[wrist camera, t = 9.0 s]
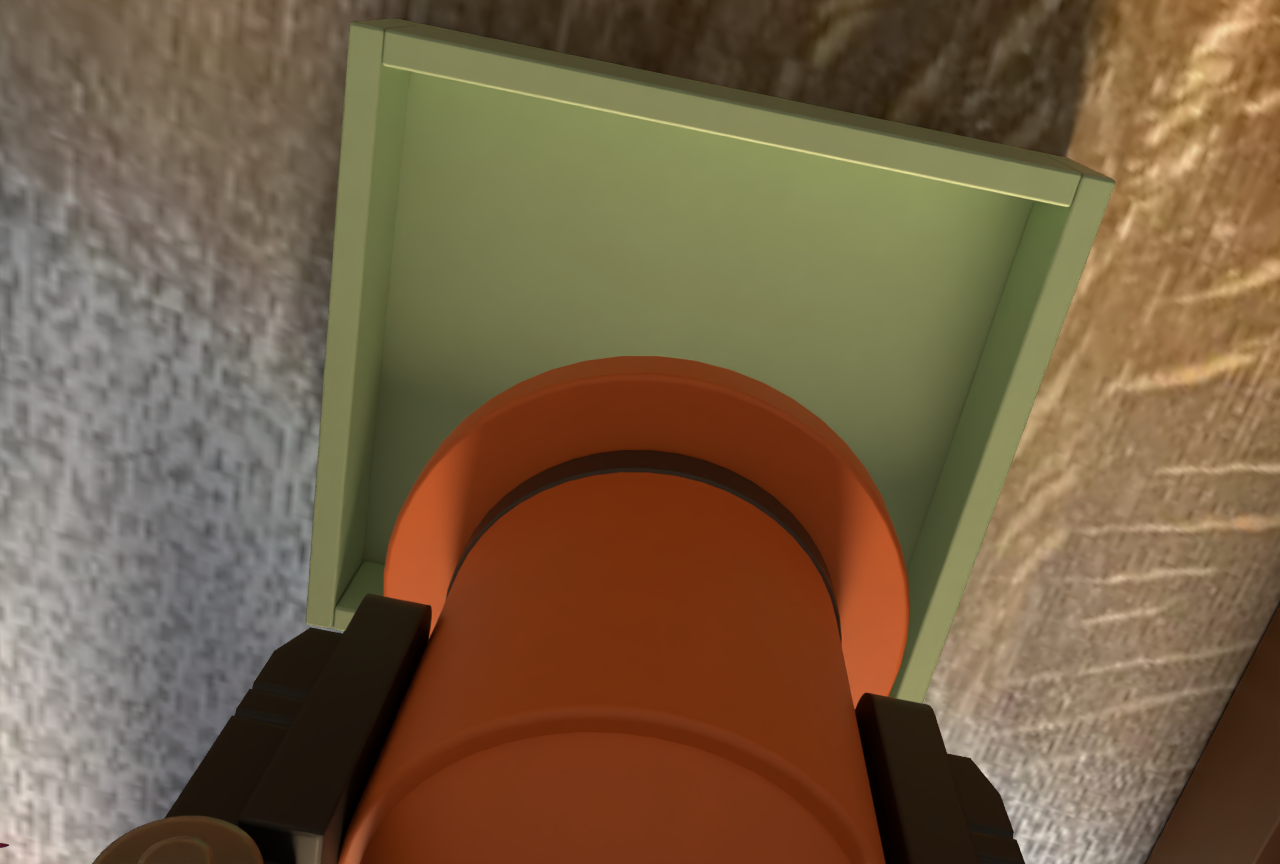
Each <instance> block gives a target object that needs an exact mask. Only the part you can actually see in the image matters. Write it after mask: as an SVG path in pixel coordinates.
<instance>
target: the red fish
mask: <svg viewBox="0 0 1280 864" xmlns="http://www.w3.org/2000/svg"><path fill="white" fill-rule="evenodd" d="M7 846H9V845H8V844H3V843H0V848H3V847H7Z"/></svg>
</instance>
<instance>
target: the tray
mask: <svg viewBox="0 0 1280 864" xmlns="http://www.w3.org/2000/svg"><path fill="white" fill-rule="evenodd" d="M1114 185H1115V181H1114V180H1113V179H1111V178H1109V177H1107V176H1105V175H1103V174H1101V173H1098V172H1096V171H1094V170H1092V169H1090V168H1088V167H1086V166H1084V165H1081V164H1079V163H1077V162H1075V161H1073V160H1071V159H1069V158H1066V157H1061V156H1056V155H1052V154H1047V153H1042V152H1037V151H1032V150H1028V149H1023V148H1018V147H1013V146H1008V145H1003V144H999V143H994V142H989V141H984V140H979V139H975V138H970V137H965V136H960V135H955V134H951V133H946V132H941V131H936V130H931V129H926V128H922V127H917V126H912V125H907V124H902V123H898V122H893V121H888V120H883V119H878V118H873V117H869V116H864V115H859V114H854V113H849V112H845V111H840V110H835V109H830V108H825V107H820V106H816V105H811V104H806V103H801V102H796V101H792V100H787V99H782V98H777V97H772V96H768V95H763V94H758V93H753V92H748V91H743V90H739V89H734V88H729V87H724V86H719V85H715V84H710V83H705V82H700V81H695V80H690V79H686V78H681V77H676V76H671V75H666V74H662V73H657V72H652V71H647V70H642V69H637V68H633V67H628V66H623V65H618V64H613V63H609V62H604V61H599V60H594V59H589V58H585V57H580V56H575V55H570V54H565V53H560V52H556V51H551V50H546V49H541V48H536V47H532V46H527V45H522V44H517V43H512V42H507V41H503V40H498V39H493V38H488V37H483V36H479V35H474V34H469V33H464V32H459V31H455V30H450V29H445V28H440V27H435V26H430V25H426V24H421V23H416V22H411V21H406V20H402V19H397V18H392V19H379V20H367V21H356V22H351V23H350V25H349V39H348V52H347V66H346V80H345V93H344V107H343V120H342V134H341V148H340V161H339V175H338V188H337V202H336V216H335V229H334V243H333V256H332V270H331V284H330V297H329V311H328V324H327V338H326V351H325V365H324V379H323V392H322V406H321V419H320V433H319V447H318V460H317V474H316V487H315V501H314V515H313V528H312V542H311V555H310V569H309V583H308V596H307V610H306V623H307V624H309V625H315V626H320V627H325V628H332V627H333V626H334V629H336V630H340V631H345V630H346V628H347V626H348V624H349V623H350V621H351V619H352V617H353V616H354V614H355V612H356V610H357V609H358V607H359V605H360V603H361V602H362V600H363V598H364V597H365V596H366V595H367V594H368V593H370V594H375V595H380V596H384V568H385V562H386V556H387V550H388V544H389V541H390V538H391V535H392V532H393V529H394V526H395V523H396V520H397V517H398V514H399V512H400V510H401V508H402V506H403V504H404V502H405V500H406V498H407V496H408V494H409V493H410V491H411V489H412V487H413V485H414V483H415V482H416V480H417V478H418V477H419V475H420V473H421V472H422V470H423V468H424V467H425V465H426V464H427V463H428V461H429V460H430V458H431V457H432V456H433V454H434V453H435V451H436V450H437V449H438V447H439V446H440V444H441V443H442V442H443V441H444V440H445V439H446V438H447V437H448V436H449V435H450V434H451V432H452V431H453V430H454V429H455V428H456V427H457V426H458V425H459V424H460V423H461V422H462V421H463V420H464V419H465V418H467V417H468V416H469V415H470V414H472V413H473V412H474V411H476V410H477V409H478V408H480V407H481V406H482V405H483V404H485V403H486V402H487V401H489V400H490V399H492V398H493V397H495V396H497V395H499V394H500V393H502V392H504V391H506V390H507V389H509V388H511V387H513V386H514V385H516V384H518V383H520V382H522V381H525V380H527V379H529V378H532V377H534V376H537V375H539V374H542V373H544V372H547V371H549V370H552V369H556V368H559V367H563V366H567V365H571V364H575V363H579V362H582V361H587V360H595V359H602V358H610V357H618V356H662V357H670V358H678V359H687V360H694V361H698V362H702V363H706V364H710V365H714V366H718V367H722V368H726V369H730V370H732V371H735V372H738V373H740V374H743V375H745V376H748V377H750V378H753V379H756V380H758V381H761V382H763V383H765V384H767V385H769V386H770V387H772V388H774V389H776V390H778V391H780V392H781V393H783V394H785V395H787V396H789V397H791V398H792V399H794V400H796V401H797V402H798V403H800V404H801V405H802V406H804V407H805V408H807V409H808V410H809V411H811V412H812V413H813V414H815V415H816V416H818V417H819V418H820V419H822V420H823V421H824V422H825V423H826V424H827V425H828V426H829V427H830V428H831V429H832V430H833V431H834V432H835V433H836V434H837V435H838V436H839V437H840V438H841V439H843V440H844V441H845V442H846V443H847V445H848V446H849V447H850V449H851V450H852V451H853V452H854V454H855V455H856V456H857V457H858V459H859V460H860V461H861V463H862V464H863V465H864V466H865V468H866V469H867V471H868V472H869V474H870V476H871V478H872V479H873V481H874V483H875V485H876V486H877V488H878V490H879V492H880V493H881V495H882V497H883V500H884V502H885V505H886V507H887V510H888V512H889V515H890V517H891V520H892V522H893V525H894V528H895V531H896V534H897V537H898V540H899V542H900V545H901V548H902V553H903V557H904V562H905V566H906V571H907V575H908V582H909V597H910V617H909V628H908V639H907V643H906V647H905V651H904V655H903V659H902V663H901V667H900V669H899V672H898V674H897V676H896V679H895V681H894V684H893V686H892V688H891V691H890V693H889V695H888V697H892V698H897V699H902V700H907V701H912V702H917V703H923V700H924V697H925V695H926V692H927V689H928V687H929V684H930V681H931V678H932V676H933V673H934V670H935V668H936V665H937V662H938V660H939V657H940V654H941V652H942V649H943V646H944V643H945V641H946V638H947V635H948V633H949V630H950V627H951V625H952V622H953V619H954V617H955V614H956V611H957V608H958V606H959V603H960V600H961V598H962V595H963V592H964V590H965V587H966V584H967V581H968V579H969V576H970V573H971V571H972V568H973V565H974V563H975V560H976V557H977V555H978V552H979V549H980V546H981V544H982V541H983V538H984V536H985V533H986V530H987V528H988V525H989V522H990V520H991V517H992V514H993V511H994V509H995V506H996V503H997V501H998V498H999V495H1000V493H1001V490H1002V487H1003V484H1004V482H1005V479H1006V476H1007V474H1008V471H1009V468H1010V466H1011V463H1012V460H1013V458H1014V455H1015V452H1016V449H1017V447H1018V444H1019V441H1020V439H1021V436H1022V433H1023V431H1024V428H1025V425H1026V423H1027V420H1028V417H1029V414H1030V412H1031V409H1032V406H1033V404H1034V401H1035V398H1036V396H1037V393H1038V390H1039V387H1040V385H1041V382H1042V379H1043V377H1044V374H1045V371H1046V369H1047V366H1048V363H1049V361H1050V358H1051V355H1052V352H1053V350H1054V347H1055V344H1056V342H1057V339H1058V336H1059V334H1060V331H1061V328H1062V326H1063V323H1064V320H1065V317H1066V315H1067V312H1068V309H1069V307H1070V304H1071V301H1072V299H1073V296H1074V293H1075V290H1076V288H1077V285H1078V282H1079V280H1080V277H1081V274H1082V272H1083V269H1084V266H1085V264H1086V261H1087V258H1088V255H1089V253H1090V250H1091V247H1092V245H1093V242H1094V239H1095V237H1096V234H1097V231H1098V229H1099V226H1100V223H1101V220H1102V218H1103V215H1104V212H1105V210H1106V207H1107V204H1108V202H1109V199H1110V196H1111V193H1112V191H1113V188H1114Z"/></svg>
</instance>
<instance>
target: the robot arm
mask: <svg viewBox="0 0 1280 864" xmlns="http://www.w3.org/2000/svg"><path fill="white" fill-rule="evenodd" d="M431 620H432V607H431V605H426V604H421V603H416V602H410V601H405V600H400V599H395V598H390V597H385V596H380V595H375V594H370V593H368V594H367V595H366V596H365V597H364V598H363V600H362V602H361V603H360V605H359V607H358V609H357V610H356V612H355V614H354V616H353V617H352V619H351V621H350V623H349V624H348V626H347V628H346V630H345V632H344V633H343V634H341V633H336V632H331V631H326V630H321V629H316V628H309V629H307V630H306V631H304V632H303V633H301V634H300V635H298V636H297V637H295V638H294V639H292V640H291V641H289V642H287V643H286V644H284V645H283V646H281V647H280V648H278V649H277V650H275V651H274V652H273V654H272V655H271V657H270V658H269V660H268V661H267V663H266V664H265V666H264V668H263V669H262V671H261V672H260V674H259V675H258V677H257V678H256V680H255V681H254V684H253V687H252V689H249V690H248V692H247V693H246V695H245V696H244V698H243V700H242V701H241V703H240V704H239V706H238V707H237V709H236V713H235V715H234V716H231V718H230V719H229V721H228V722H227V724H226V725H225V727H224V728H223V730H222V731H221V733H220V735H219V736H218V738H217V739H216V741H215V742H214V744H213V745H212V747H211V748H210V750H209V751H208V753H207V754H206V756H205V757H204V759H203V760H202V762H201V763H200V765H199V766H198V768H197V770H196V771H195V773H194V774H193V776H192V777H191V779H190V780H189V782H188V783H187V785H186V786H185V788H184V789H183V791H182V792H181V794H180V795H179V797H178V798H177V800H176V802H175V803H174V805H173V806H172V808H171V809H170V811H169V812H168V814H167V815H166V816H165V818H164V819H161V820H157V821H153V822H150V823H148V824H145V825H142V826H140V827H137V828H135V829H133V830H131V831H130V832H128V833H126V834H124V835H123V836H121V837H120V838H118V839H117V840H115V841H114V842H112V843H111V844H110V845H109V846H108V847H107V848H106V849H104V850H103V851H102V852H101V853H100V855H99V856H98V857H97V858H96V859H95V861H94V862H93V863H92V864H338V858H339V853H340V848H341V845H342V842H343V839H344V837H345V834H346V831H347V829H348V826H349V824H350V822H351V819H352V817H353V815H354V812H355V810H356V808H357V805H358V803H359V801H360V798H361V796H362V794H363V791H364V789H365V787H366V785H367V782H368V780H369V778H370V775H371V773H372V771H373V768H374V766H375V764H376V761H377V759H378V757H379V754H380V752H381V750H382V747H383V745H384V743H385V740H386V738H387V736H388V733H389V731H390V729H391V726H392V724H393V722H394V720H395V717H396V715H397V713H398V710H399V708H400V706H401V703H402V701H403V699H404V696H405V694H406V692H407V689H408V687H409V685H410V682H411V680H412V678H413V675H414V673H415V671H416V668H417V666H418V664H419V662H420V659H421V657H422V655H423V652H424V650H425V648H426V645H427V643H428V641H429V636H430V628H431ZM855 715H856V720H857V725H858V729H859V734H860V739H861V744H862V749H863V754H864V759H865V764H866V769H867V774H868V779H869V784H870V789H871V794H872V799H873V804H874V809H875V814H876V819H877V824H878V829H879V833H880V838H881V843H882V848H883V853H884V858H885V863H886V864H1025V862H1024V859H1023V856H1022V854H1021V851H1020V848H1019V845H1018V843H1017V840H1015V839H1013V833H1014V832H1013V829H1012V826H1011V823H1010V820H1009V818H1008V815H1007V812H1006V809H1005V807H1004V804H1003V801H1002V798H1001V796H1000V794H999V792H998V791H997V790H996V789H995V788H994V786H993V785H992V784H991V783H990V781H989V780H988V779H987V778H986V777H985V775H984V774H983V773H982V772H981V771H980V769H979V768H978V767H977V766H976V764H975V763H974V762H973V761H972V760H971V758H967V757H962V756H957V755H952V754H947V752H946V749H945V746H944V742H943V739H942V736H941V733H940V729H939V726H938V723H937V720H936V717H935V714H934V711H933V709H932V708H931V706H930V705H927V704H922V703H917V702H912V701H907V700H902V699H897V698H892V697H887V696H882V695H877V694H872V693H864V694H863V695H862V696H861V698H860V699H859V701H858V703H857V706H856V708H855Z"/></svg>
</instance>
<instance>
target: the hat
mask: <svg viewBox="0 0 1280 864" xmlns="http://www.w3.org/2000/svg"><path fill="white" fill-rule="evenodd" d="M384 596H385V597H390V598H395V599H400V600H405V601H410V602H416V603H421V604H426V605H431V607H432V620H431V628H430V636H429V641H428V643H427V645H426V648H425V650H424V652H423V655H422V657H421V659H420V662H419V664H418V666H417V668H416V671H415V673H414V675H413V678H412V680H411V682H410V685H409V687H408V689H407V692H406V694H405V696H404V699H403V701H402V703H401V706H400V708H399V710H398V713H397V715H396V717H395V720H394V722H393V724H392V726H391V729H390V731H389V733H388V736H387V738H386V740H385V743H384V745H383V747H382V750H381V752H380V754H379V757H378V759H377V761H376V764H375V766H374V768H373V771H372V773H371V775H370V778H369V780H368V782H367V785H366V787H365V789H364V791H363V794H362V796H361V798H360V801H359V803H358V805H357V808H356V810H355V812H354V815H353V817H352V819H351V822H350V824H349V826H348V829H347V831H346V834H345V837H344V839H343V842H342V845H341V848H340V853H339V858H338V864H886V863H885V858H884V853H883V848H882V843H881V838H880V833H879V829H878V824H877V819H876V814H875V809H874V804H873V799H872V794H871V789H870V784H869V779H868V774H867V769H866V764H865V759H864V754H863V749H862V744H861V739H860V734H859V729H858V725H857V720H856V715H855V708H856V706H857V703H858V701H859V699H860V698H861V696H862V695H863V694H864V693H872V694H877V695H882V696H887V697H888V695H889V693H890V691H891V688H892V686H893V684H894V681H895V679H896V676H897V674H898V672H899V669H900V667H901V663H902V659H903V655H904V651H905V647H906V643H907V639H908V628H909V617H910V597H909V582H908V575H907V571H906V566H905V562H904V557H903V553H902V548H901V545H900V542H899V540H898V537H897V534H896V531H895V528H894V525H893V522H892V520H891V517H890V515H889V512H888V510H887V507H886V505H885V502H884V500H883V497H882V495H881V493H880V492H879V490H878V488H877V486H876V485H875V483H874V481H873V479H872V478H871V476H870V474H869V472H868V471H867V469H866V468H865V466H864V465H863V464H862V463H861V461H860V460H859V459H858V457H857V456H856V455H855V454H854V452H853V451H852V450H851V449H850V447H849V446H848V445H847V443H846V442H845V441H844V440H843V439H841V438H840V437H839V436H838V435H837V434H836V433H835V432H834V431H833V430H832V429H831V428H830V427H829V426H828V425H827V424H826V423H825V422H824V421H823V420H822V419H820V418H819V417H818V416H816V415H815V414H813V413H812V412H811V411H809V410H808V409H807V408H805V407H804V406H802V405H801V404H800V403H798V402H797V401H796V400H794V399H792V398H791V397H789V396H787V395H785V394H783V393H781V392H780V391H778V390H776V389H774V388H772V387H770V386H769V385H767V384H765V383H763V382H761V381H758V380H756V379H753V378H750V377H748V376H745V375H743V374H740V373H738V372H735V371H732V370H730V369H726V368H722V367H718V366H714V365H710V364H706V363H702V362H698V361H694V360H687V359H678V358H670V357H662V356H618V357H610V358H602V359H595V360H587V361H582V362H579V363H575V364H571V365H567V366H563V367H559V368H556V369H552V370H549V371H547V372H544V373H542V374H539V375H537V376H534V377H532V378H529V379H527V380H525V381H522V382H520V383H518V384H516V385H514V386H513V387H511V388H509V389H507V390H506V391H504V392H502V393H500V394H499V395H497V396H495V397H493V398H492V399H490V400H489V401H487V402H486V403H485V404H483V405H482V406H481V407H480V408H478V409H477V410H476V411H474V412H473V413H472V414H470V415H469V416H468V417H467V418H465V419H464V420H463V421H462V422H461V423H460V424H459V425H458V426H457V427H456V428H455V429H454V430H453V431H452V432H451V434H450V435H449V436H448V437H447V438H446V439H445V440H444V441H443V442H442V443H441V444H440V446H439V447H438V449H437V450H436V451H435V453H434V454H433V456H432V457H431V458H430V460H429V461H428V463H427V464H426V465H425V467H424V468H423V470H422V472H421V473H420V475H419V477H418V478H417V480H416V482H415V483H414V485H413V487H412V489H411V491H410V493H409V494H408V496H407V498H406V500H405V502H404V504H403V506H402V508H401V510H400V512H399V514H398V517H397V520H396V523H395V526H394V529H393V532H392V535H391V538H390V541H389V544H388V550H387V556H386V562H385V568H384Z"/></svg>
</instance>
